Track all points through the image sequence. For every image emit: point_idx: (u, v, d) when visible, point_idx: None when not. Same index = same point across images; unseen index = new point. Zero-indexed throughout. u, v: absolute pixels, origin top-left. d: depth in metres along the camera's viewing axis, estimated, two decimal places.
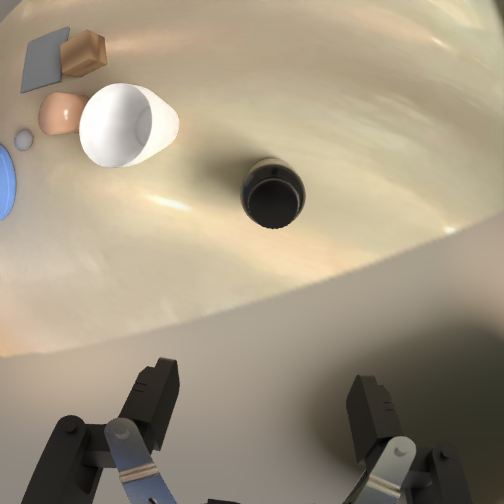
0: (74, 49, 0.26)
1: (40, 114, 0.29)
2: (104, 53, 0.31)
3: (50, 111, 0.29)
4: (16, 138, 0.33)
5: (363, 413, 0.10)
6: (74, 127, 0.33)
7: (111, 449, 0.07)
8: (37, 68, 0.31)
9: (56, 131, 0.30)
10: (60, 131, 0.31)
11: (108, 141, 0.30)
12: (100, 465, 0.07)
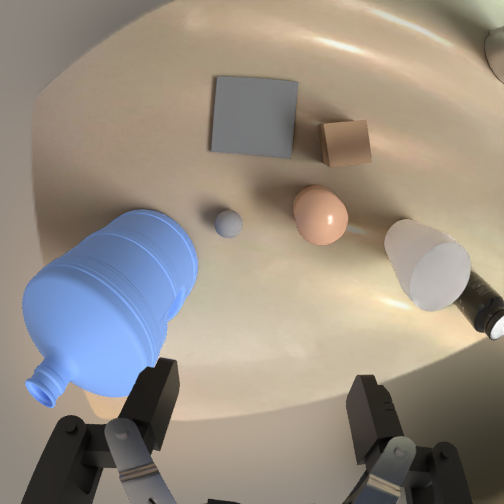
0: (349, 140, 0.30)
1: (300, 215, 0.32)
2: None
3: (319, 216, 0.32)
4: (226, 223, 0.36)
5: (363, 413, 0.10)
6: None
7: (111, 449, 0.07)
8: (244, 125, 0.34)
9: (326, 243, 0.33)
10: None
11: (394, 268, 0.33)
12: (100, 465, 0.07)
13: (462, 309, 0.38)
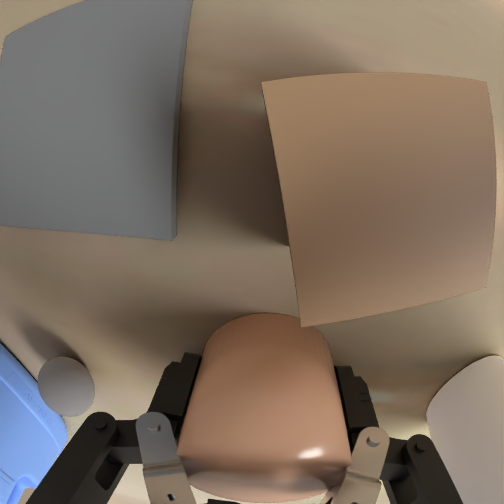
0: (415, 184, 0.05)
1: None
2: None
3: (251, 474, 0.07)
4: (47, 399, 0.11)
5: None
6: None
7: (139, 441, 0.07)
8: (42, 144, 0.09)
9: (277, 501, 0.09)
10: None
11: None
12: (128, 461, 0.08)
13: None
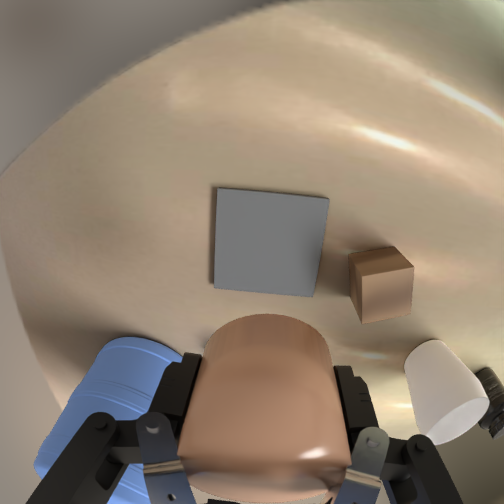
0: (389, 293, 0.24)
1: (184, 467, 0.08)
2: None
3: (250, 475, 0.07)
4: None
5: None
6: None
7: (139, 441, 0.07)
8: (256, 257, 0.28)
9: (277, 501, 0.09)
10: None
11: (412, 403, 0.27)
12: (128, 461, 0.08)
13: None
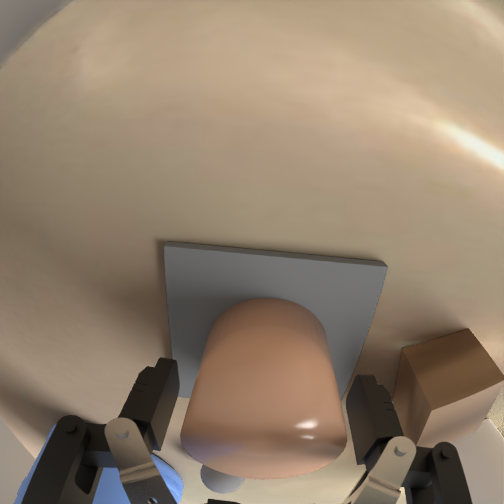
0: (462, 418, 0.11)
1: (190, 439, 0.09)
2: None
3: (252, 445, 0.09)
4: (218, 488, 0.17)
5: (363, 413, 0.10)
6: None
7: (111, 449, 0.07)
8: None
9: (278, 477, 0.10)
10: None
11: None
12: (100, 465, 0.07)
13: None
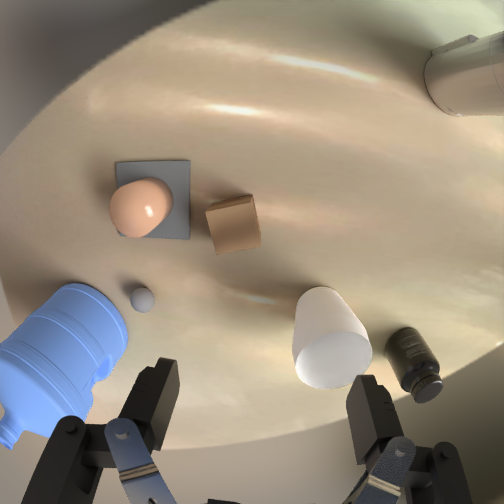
0: (233, 226, 0.32)
1: (112, 208, 0.30)
2: (257, 220, 0.36)
3: (129, 207, 0.30)
4: (137, 302, 0.38)
5: (363, 413, 0.10)
6: None
7: (111, 449, 0.07)
8: None
9: (141, 235, 0.31)
10: None
11: None
12: (100, 465, 0.07)
13: (392, 368, 0.40)
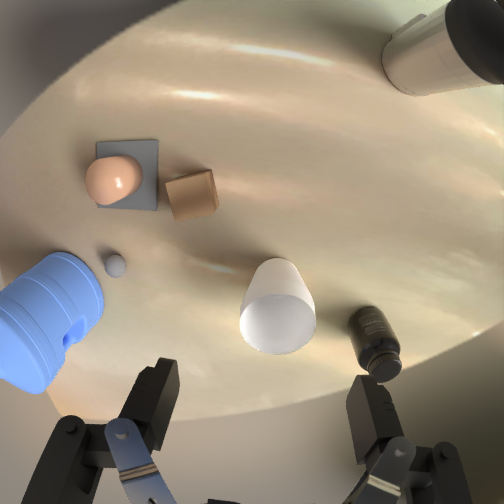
0: (189, 195, 0.35)
1: (87, 179, 0.33)
2: (216, 192, 0.39)
3: (100, 178, 0.33)
4: (109, 267, 0.41)
5: (363, 413, 0.10)
6: (126, 196, 0.36)
7: (111, 449, 0.07)
8: None
9: (108, 203, 0.34)
10: (112, 202, 0.34)
11: (247, 309, 0.38)
12: (100, 465, 0.07)
13: (352, 345, 0.43)
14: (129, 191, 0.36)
